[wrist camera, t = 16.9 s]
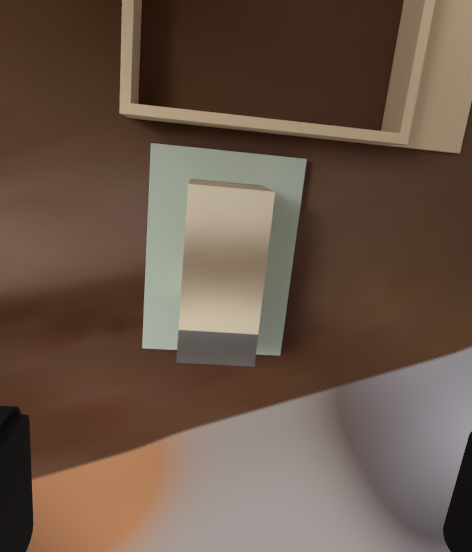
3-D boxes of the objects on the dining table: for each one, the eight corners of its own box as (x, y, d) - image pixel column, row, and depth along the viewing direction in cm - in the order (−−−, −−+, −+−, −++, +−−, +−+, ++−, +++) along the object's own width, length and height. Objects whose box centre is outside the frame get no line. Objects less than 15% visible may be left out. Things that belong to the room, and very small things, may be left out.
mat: (152, 143, 28) (151, 143, 27) (303, 158, 29) (306, 159, 28) (144, 342, 31) (142, 348, 30) (277, 349, 32) (280, 355, 31)
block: (191, 178, 27) (188, 183, 22) (259, 184, 28) (275, 191, 22) (181, 323, 30) (176, 362, 24) (244, 326, 30) (254, 366, 25)
